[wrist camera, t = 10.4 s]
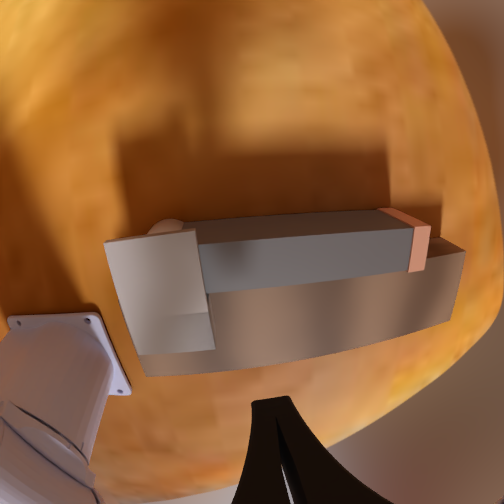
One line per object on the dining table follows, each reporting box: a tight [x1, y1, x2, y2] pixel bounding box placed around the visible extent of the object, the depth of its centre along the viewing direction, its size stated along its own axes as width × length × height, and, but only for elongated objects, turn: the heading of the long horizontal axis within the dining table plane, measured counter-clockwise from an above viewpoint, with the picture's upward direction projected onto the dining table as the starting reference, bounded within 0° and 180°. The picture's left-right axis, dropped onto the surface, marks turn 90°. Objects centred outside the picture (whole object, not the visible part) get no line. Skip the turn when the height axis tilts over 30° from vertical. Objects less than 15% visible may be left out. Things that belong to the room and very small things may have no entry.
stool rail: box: [103, 228, 466, 377], centre depth 16 cm, size 22×10×5 cm, turn 95°
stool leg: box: [147, 208, 431, 293], centre depth 15 cm, size 15×3×4 cm, turn 93°
